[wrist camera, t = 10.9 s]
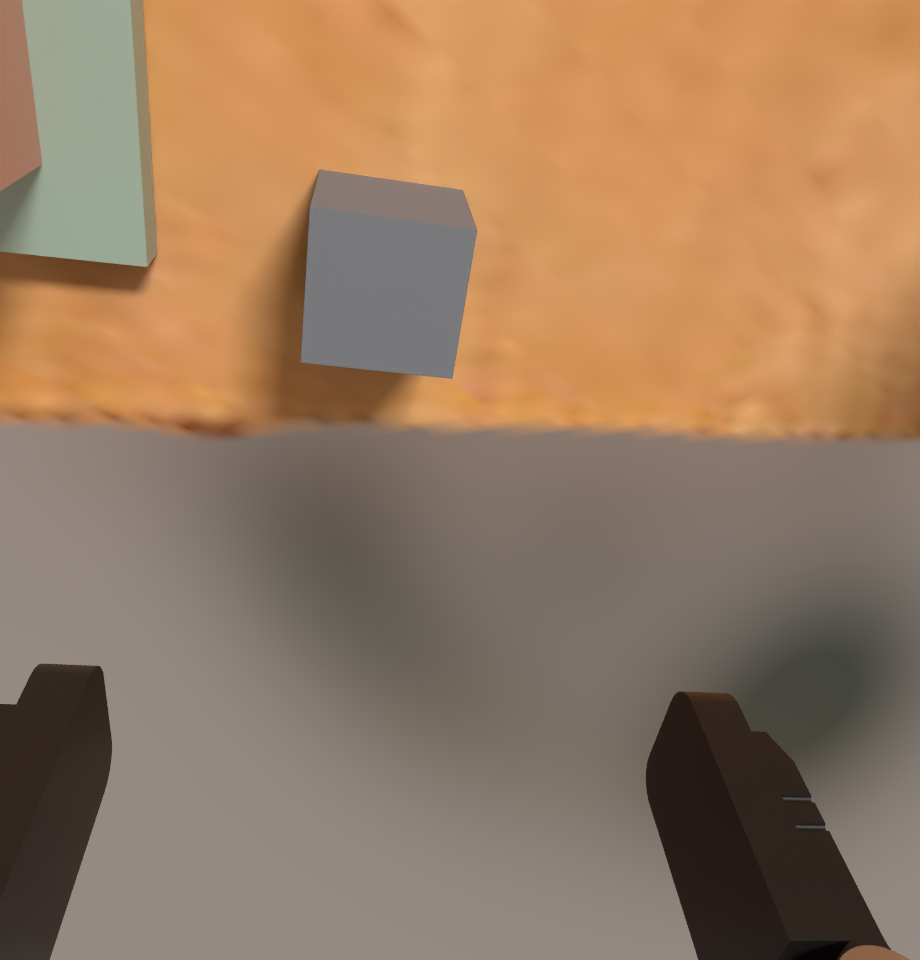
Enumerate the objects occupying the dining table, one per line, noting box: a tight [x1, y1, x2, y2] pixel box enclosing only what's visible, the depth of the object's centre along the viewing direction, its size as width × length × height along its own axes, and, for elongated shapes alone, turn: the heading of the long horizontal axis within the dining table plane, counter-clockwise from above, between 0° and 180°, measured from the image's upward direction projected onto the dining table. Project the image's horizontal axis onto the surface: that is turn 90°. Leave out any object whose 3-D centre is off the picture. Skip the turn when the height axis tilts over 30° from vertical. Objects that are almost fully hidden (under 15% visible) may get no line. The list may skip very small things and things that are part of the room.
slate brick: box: [301, 170, 477, 379], centre depth 28 cm, size 5×5×5 cm
